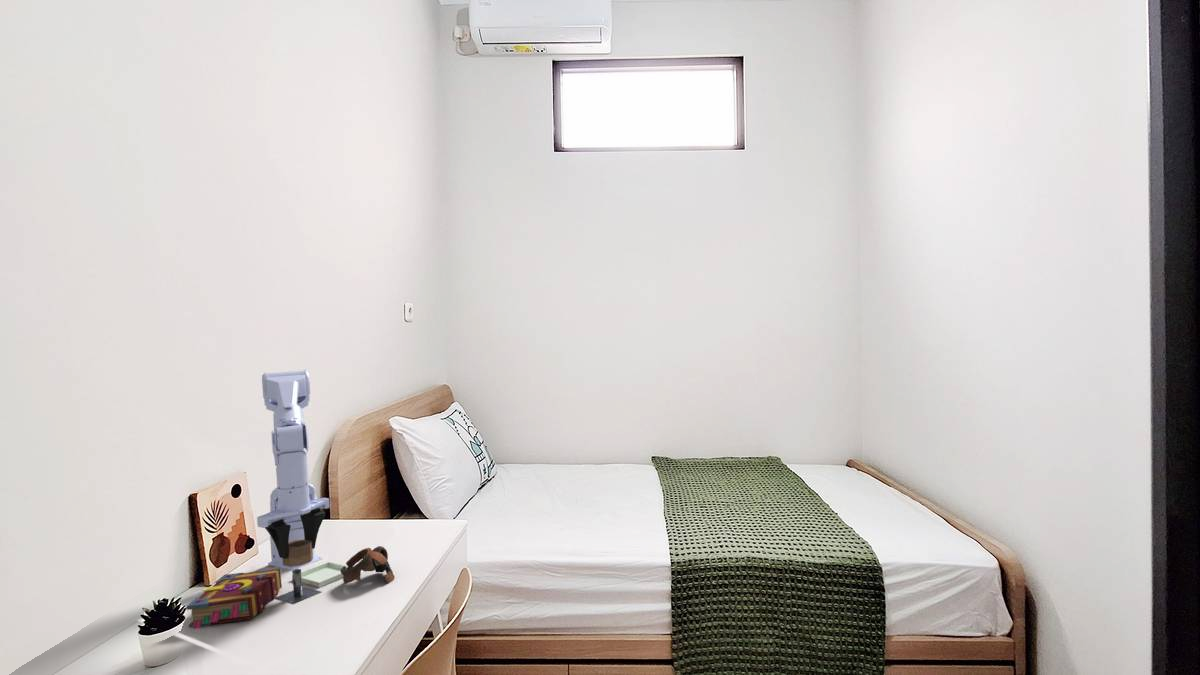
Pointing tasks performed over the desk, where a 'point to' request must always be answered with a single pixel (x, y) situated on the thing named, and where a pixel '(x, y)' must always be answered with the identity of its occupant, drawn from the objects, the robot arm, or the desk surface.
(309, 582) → the tray
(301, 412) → the robot arm
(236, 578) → the decorative book
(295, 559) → the collar
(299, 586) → the grey peg stand
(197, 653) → the desk surface
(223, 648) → the desk surface
